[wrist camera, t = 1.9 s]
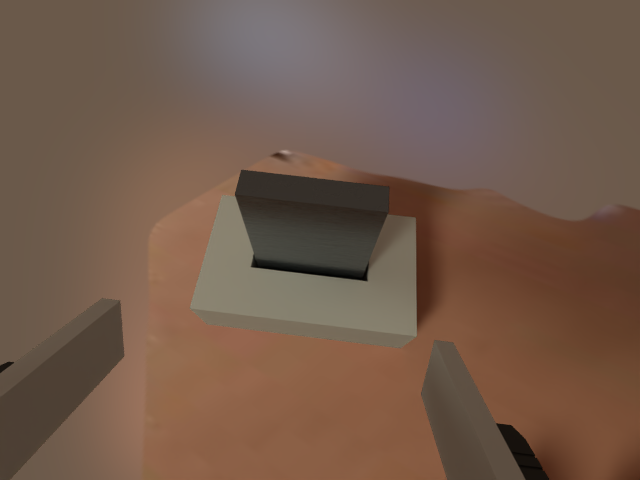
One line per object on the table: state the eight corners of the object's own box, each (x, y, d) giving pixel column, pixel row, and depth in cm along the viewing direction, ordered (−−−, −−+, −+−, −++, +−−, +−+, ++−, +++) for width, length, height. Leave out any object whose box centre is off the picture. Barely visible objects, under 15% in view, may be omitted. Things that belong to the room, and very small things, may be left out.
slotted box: (401, 243, 41) (415, 217, 36) (400, 348, 36) (416, 336, 31) (233, 223, 42) (222, 194, 36) (206, 324, 36) (189, 308, 31)
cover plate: (358, 273, 38) (389, 186, 24) (356, 291, 37) (388, 212, 23) (265, 262, 38) (241, 169, 24) (262, 279, 37) (234, 194, 23)
